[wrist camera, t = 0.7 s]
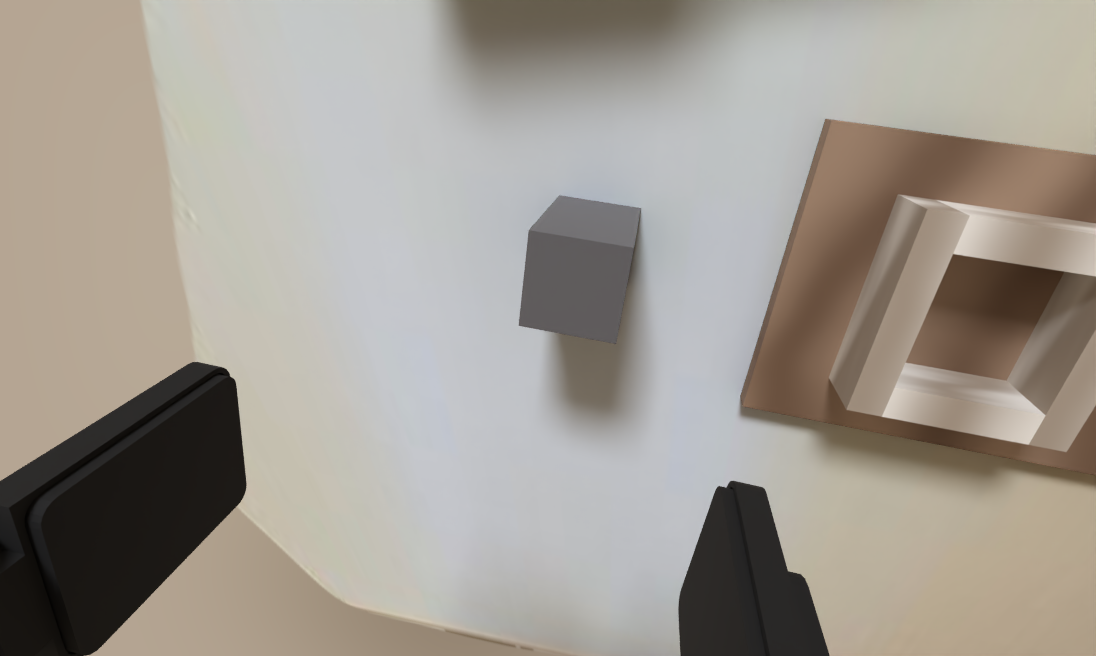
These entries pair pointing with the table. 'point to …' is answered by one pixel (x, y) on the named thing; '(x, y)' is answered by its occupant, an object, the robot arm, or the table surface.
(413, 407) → the table surface
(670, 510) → the table surface
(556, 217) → the charger brick
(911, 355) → the board
